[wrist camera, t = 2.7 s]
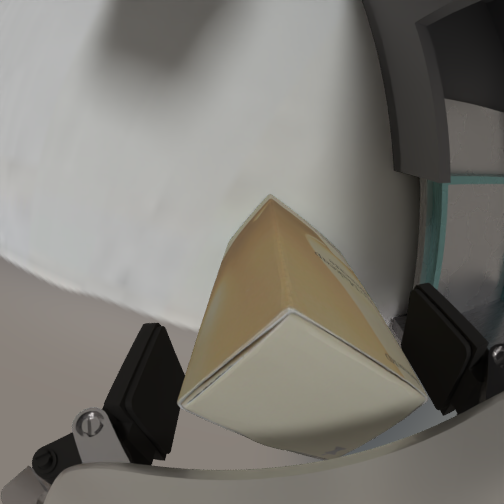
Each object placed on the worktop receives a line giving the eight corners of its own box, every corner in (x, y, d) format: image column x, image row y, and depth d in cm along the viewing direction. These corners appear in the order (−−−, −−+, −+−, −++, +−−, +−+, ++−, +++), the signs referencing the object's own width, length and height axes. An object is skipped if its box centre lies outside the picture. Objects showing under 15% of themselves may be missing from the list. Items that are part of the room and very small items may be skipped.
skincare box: (342, 251, 17) (438, 401, 6) (297, 297, 19) (335, 465, 7) (265, 187, 16) (292, 304, 4) (221, 242, 17) (170, 412, 6)
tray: (513, 119, 12) (569, 126, 6) (497, 294, 18) (536, 331, 12) (394, 96, 13) (464, 82, 7) (392, 327, 19) (427, 387, 13)
